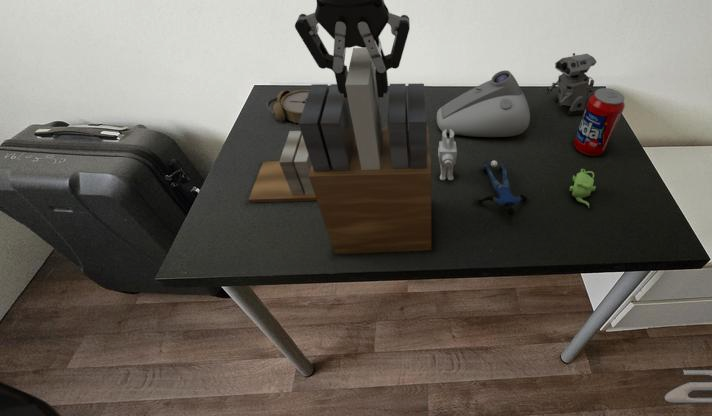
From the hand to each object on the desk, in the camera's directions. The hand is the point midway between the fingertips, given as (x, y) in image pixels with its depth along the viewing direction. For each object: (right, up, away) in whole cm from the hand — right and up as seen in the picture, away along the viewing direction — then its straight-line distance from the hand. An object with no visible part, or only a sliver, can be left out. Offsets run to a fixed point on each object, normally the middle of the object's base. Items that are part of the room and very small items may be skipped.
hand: (364, 94), depth 51 cm
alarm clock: (-29, +10, +48) cm, 56 cm away
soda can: (+47, -1, +42) cm, 63 cm away
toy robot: (+11, -9, +33) cm, 36 cm away
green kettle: (+41, -13, +30) cm, 52 cm away
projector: (+20, +6, +47) cm, 51 cm away
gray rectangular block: (0, -7, +7) cm, 10 cm away
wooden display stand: (-23, -10, +30) cm, 39 cm away
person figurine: (+23, -13, +29) cm, 40 cm away
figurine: (+44, +13, +54) cm, 71 cm away
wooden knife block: (-1, -20, +22) cm, 30 cm away
